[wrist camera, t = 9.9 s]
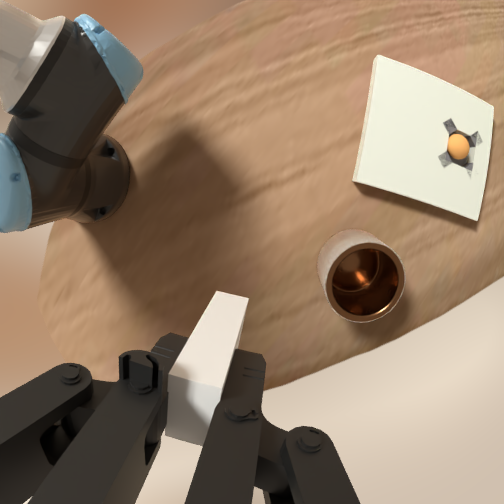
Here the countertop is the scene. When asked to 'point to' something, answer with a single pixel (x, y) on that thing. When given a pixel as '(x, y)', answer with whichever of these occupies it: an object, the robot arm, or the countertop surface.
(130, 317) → the countertop surface
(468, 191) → the plate
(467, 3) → the countertop surface
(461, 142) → the ball
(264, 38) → the countertop surface
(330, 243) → the planter
